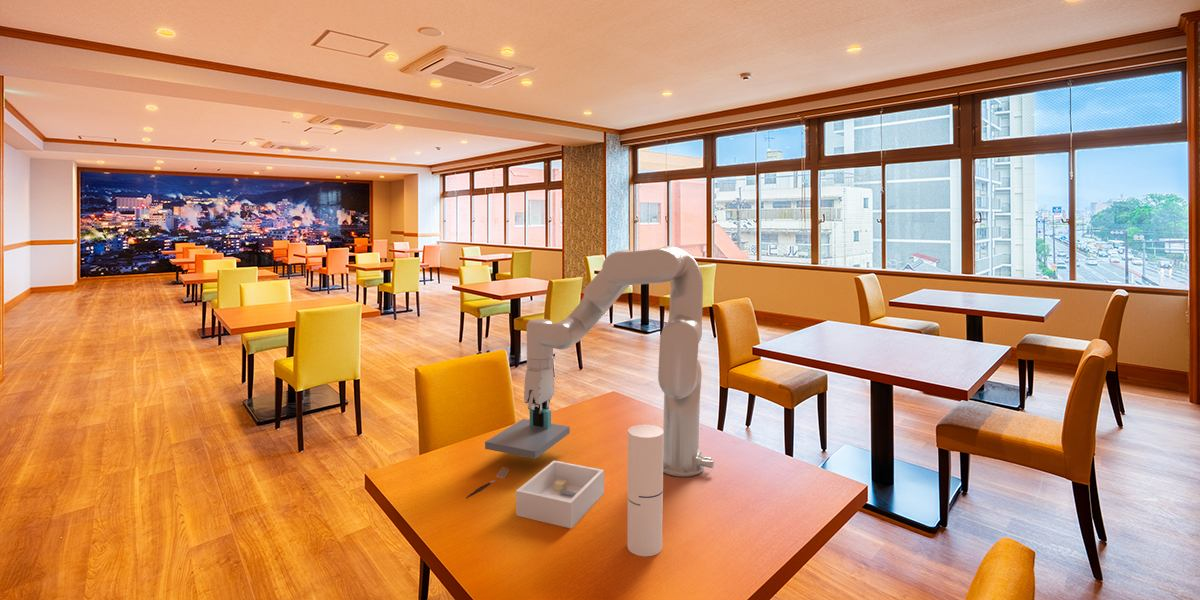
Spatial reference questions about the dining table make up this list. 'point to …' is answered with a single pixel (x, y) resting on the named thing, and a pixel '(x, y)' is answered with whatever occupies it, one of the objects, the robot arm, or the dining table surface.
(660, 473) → the cylindrical container
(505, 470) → the fork
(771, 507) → the dining table surface
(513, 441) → the lid
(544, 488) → the tub
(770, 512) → the dining table surface
